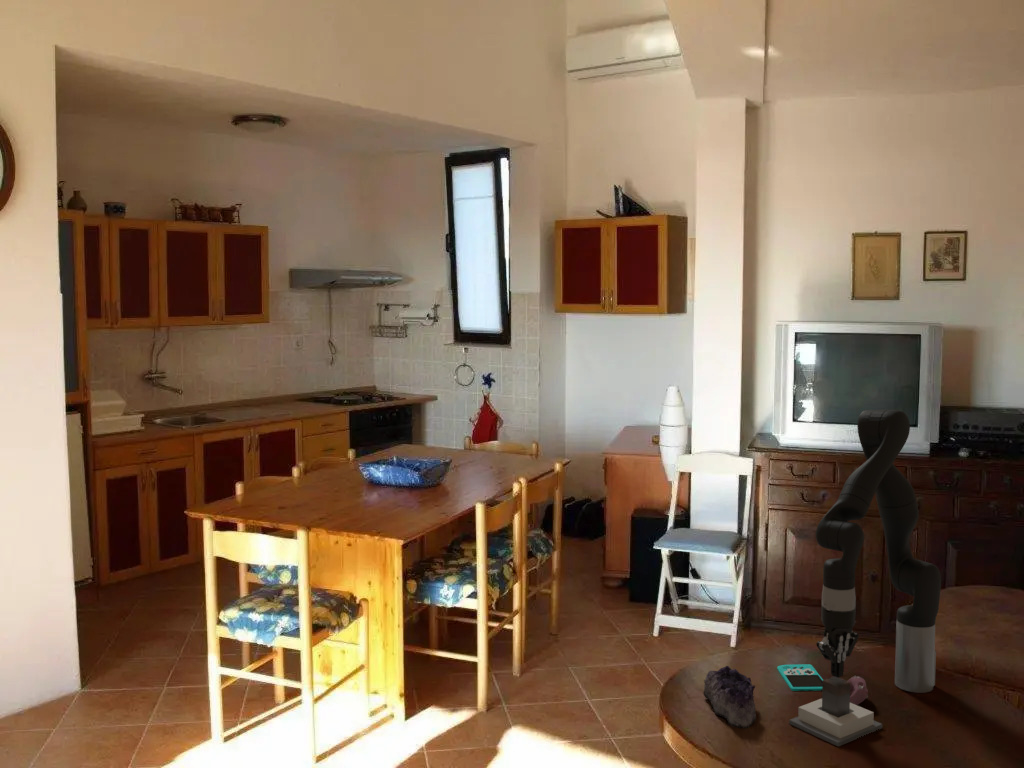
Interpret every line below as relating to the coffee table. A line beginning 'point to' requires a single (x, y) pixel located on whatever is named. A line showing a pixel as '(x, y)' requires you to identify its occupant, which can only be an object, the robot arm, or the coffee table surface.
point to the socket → (835, 723)
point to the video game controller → (857, 690)
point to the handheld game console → (801, 677)
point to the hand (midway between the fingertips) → (837, 675)
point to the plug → (836, 696)
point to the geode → (731, 696)
